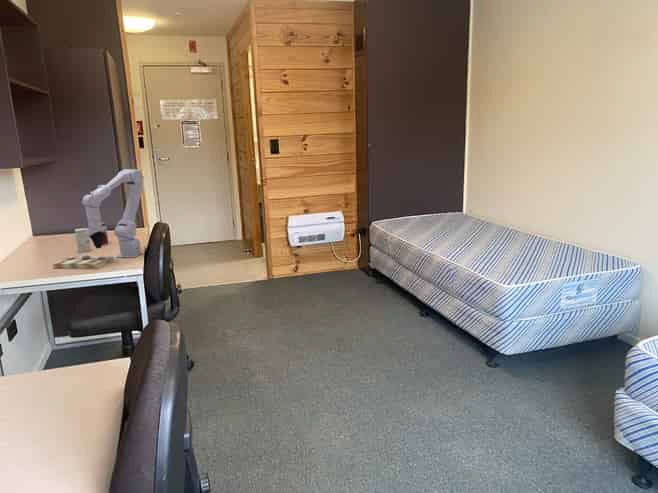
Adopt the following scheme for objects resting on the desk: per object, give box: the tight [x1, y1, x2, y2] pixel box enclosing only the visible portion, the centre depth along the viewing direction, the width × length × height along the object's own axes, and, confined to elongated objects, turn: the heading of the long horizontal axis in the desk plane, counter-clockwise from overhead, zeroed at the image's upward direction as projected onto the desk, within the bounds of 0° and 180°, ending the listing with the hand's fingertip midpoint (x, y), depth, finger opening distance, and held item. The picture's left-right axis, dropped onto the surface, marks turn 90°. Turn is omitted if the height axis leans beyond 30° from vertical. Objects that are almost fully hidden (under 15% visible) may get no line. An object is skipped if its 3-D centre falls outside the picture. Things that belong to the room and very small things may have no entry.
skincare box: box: [74, 227, 92, 254], centre depth 257 cm, size 6×4×12 cm
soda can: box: [101, 222, 109, 247], centre depth 271 cm, size 7×7×12 cm
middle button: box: [82, 255, 90, 260], centre depth 233 cm, size 3×3×2 cm
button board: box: [52, 255, 115, 270], centre depth 231 cm, size 23×13×3 cm, turn 81°
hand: (98, 247), depth 232 cm, fingers closed
